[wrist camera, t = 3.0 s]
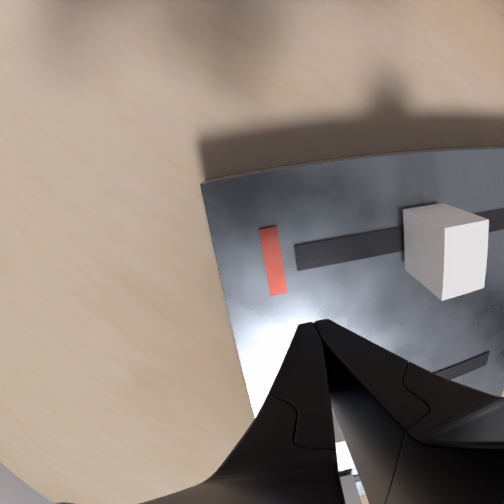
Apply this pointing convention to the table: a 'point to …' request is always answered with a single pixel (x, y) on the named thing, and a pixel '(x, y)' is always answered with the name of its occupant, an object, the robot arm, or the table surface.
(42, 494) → the table surface
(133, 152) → the table surface
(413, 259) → the handle
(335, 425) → the handle mid
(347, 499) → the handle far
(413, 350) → the panel
